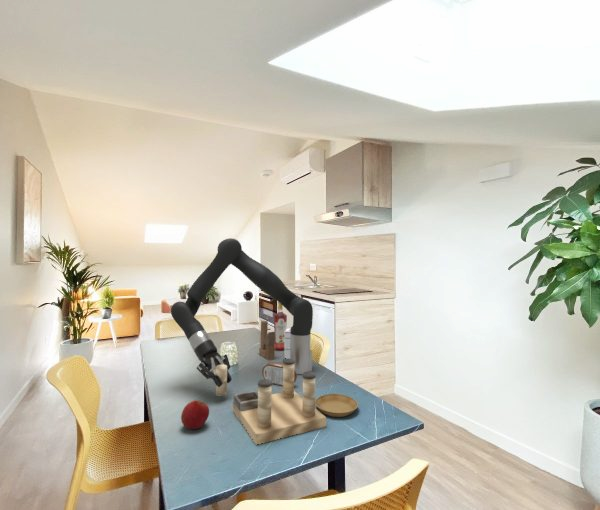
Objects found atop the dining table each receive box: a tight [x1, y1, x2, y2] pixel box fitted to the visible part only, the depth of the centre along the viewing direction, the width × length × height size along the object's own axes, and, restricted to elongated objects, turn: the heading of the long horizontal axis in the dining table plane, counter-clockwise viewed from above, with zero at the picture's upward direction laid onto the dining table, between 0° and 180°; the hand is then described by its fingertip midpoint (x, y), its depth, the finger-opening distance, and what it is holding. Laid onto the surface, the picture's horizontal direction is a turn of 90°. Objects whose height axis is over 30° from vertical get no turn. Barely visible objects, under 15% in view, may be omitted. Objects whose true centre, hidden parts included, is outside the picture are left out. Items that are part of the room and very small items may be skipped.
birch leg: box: [215, 364, 228, 397], centre depth 123 cm, size 4×4×10 cm
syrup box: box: [283, 327, 291, 359], centre depth 174 cm, size 6×6×14 cm
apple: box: [180, 399, 210, 430], centre depth 104 cm, size 8×8×8 cm
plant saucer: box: [315, 393, 359, 418], centre depth 117 cm, size 15×15×3 cm
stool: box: [232, 358, 327, 446], centre depth 110 cm, size 23×23×16 cm
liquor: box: [273, 301, 288, 351], centre depth 189 cm, size 7×7×28 cm
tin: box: [261, 361, 298, 387], centre depth 138 cm, size 15×3×8 cm, turn 65°
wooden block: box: [258, 320, 276, 361], centre depth 174 cm, size 4×11×18 cm, turn 33°
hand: (225, 383), depth 122 cm, fingers closed on birch leg, 4 cm apart
